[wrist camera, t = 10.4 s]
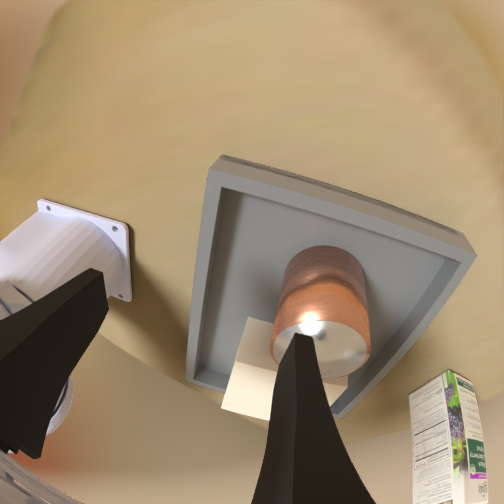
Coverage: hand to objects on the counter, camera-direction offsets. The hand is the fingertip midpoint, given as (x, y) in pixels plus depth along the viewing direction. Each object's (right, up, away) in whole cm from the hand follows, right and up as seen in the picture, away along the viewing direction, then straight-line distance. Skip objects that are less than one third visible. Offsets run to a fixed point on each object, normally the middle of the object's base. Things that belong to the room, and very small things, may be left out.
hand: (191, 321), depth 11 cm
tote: (+6, -2, +13) cm, 14 cm away
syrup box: (+22, -12, +16) cm, 30 cm away
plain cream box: (+5, -7, +15) cm, 17 cm away
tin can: (+7, +1, +9) cm, 11 cm away
